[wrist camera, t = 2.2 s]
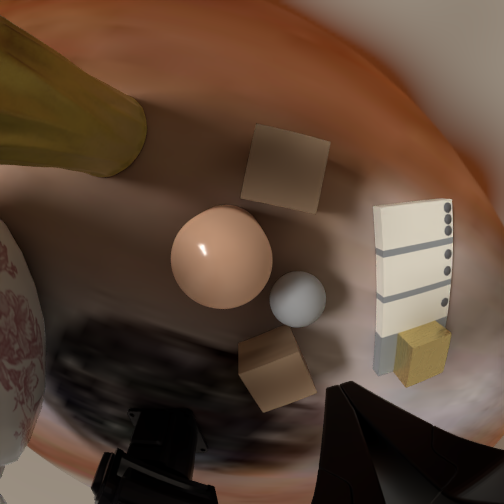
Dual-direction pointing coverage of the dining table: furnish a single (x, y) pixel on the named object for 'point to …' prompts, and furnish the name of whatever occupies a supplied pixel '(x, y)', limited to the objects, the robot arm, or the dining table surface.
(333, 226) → the dining table surface
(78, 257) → the dining table surface
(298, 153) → the walnut cube
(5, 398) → the chamber pot
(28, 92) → the vase
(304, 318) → the grey ball
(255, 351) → the walnut cube
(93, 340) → the dining table surface
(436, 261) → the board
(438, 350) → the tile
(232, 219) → the peach rounded capsule
